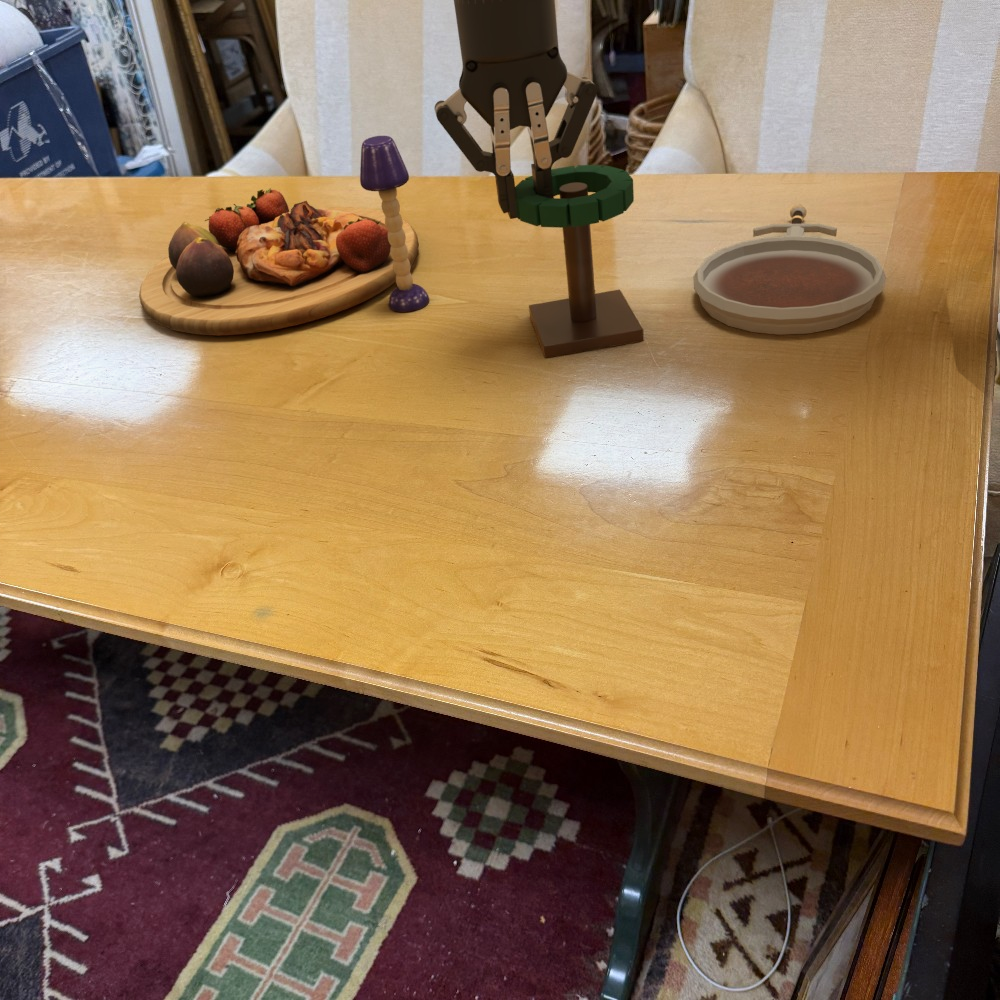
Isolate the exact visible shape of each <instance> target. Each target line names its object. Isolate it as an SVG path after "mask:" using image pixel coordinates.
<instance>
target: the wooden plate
mask: <svg viewBox="0 0 1000 1000" xmlns="http://www.w3.org/2000/svg"><path fill="white" fill-rule="evenodd" d="M250 201H251V202H250V203H246V205H244V206H243V205H237V204H235V203H233V205H234V208H233V207H232V206H226V207H225V208H223V207H216V208H215V210H214V212H213V214H212V215H210V216H208V218H207V219H205V220H204V222H207V221H208V230H207V229H206V228H204V227H201V226H199V225H196V224H195V225H194V224H191V223H189V222H186V221H183V222H182V223H181V225H180V226H179V227H178V228H177V229H176V230H175V231H174V233H173V235H172V237H171V239H170V241H169V244H168V249H167V250H168V255H167V256H166V257H164V258H163V259H162V260H160V261H159V262H158V263H156V264H155V266H153V267H152V269H150V270H149V272H148V273H147V274H146V275H145V277H144V278H143V280H142V282H141V285H140V288H139V293H138V295H139V296H138V297H139V302H140V303H139V304H140V305H141V308H142V310H143V311H144V313H145V314H146V315H147V316H148V317H149V318H150V319H151V320H152V321H154V322H155V323H157V324H159V325H161V326H162V327H164V328H168V329H170V330H173V331H177V332H180V333H186V334H191V335H199V336H200V335H202V336H234V335H235V336H237V335H245V334H255V333H262V332H269V331H275V330H279V329H285V328H289V327H294V326H298V325H303V324H306V323H310V322H314V321H317V320H320V319H322V318H326V317H330V316H333V315H335V314H338V313H340V312H343V311H345V310H348V309H349V308H352V307H353V308H354V307H355V306H357V305H360V304H362V303H364V302H366V301H368V300H370V299H372V298H373V297H375V296H377V295H379V294H380V293H382V292H384V291H385V290H387V289H388V288H389V287H391V286H393V285H394V284H396V273H395V271H394V268H393V262H394V260H393V259H392V257H391V253H390V248H391V245H390V243H389V241H388V230H387V228H386V225H385V214H384V213H383V211H382V210H379V209H375V208H364V207H356V206H355V207H352V206H351V207H350V206H335V207H319V208H316V207H314V206H312V205H310V203H308V201H307V200H304V201H301V202H297V203H294V204H293V207H291V208H289V205H288V203H287V201H286V199H285V196H284V195H283V194H282V193H281V192H280V191H278V190H276V189H272V188H271V187H270V188H269V189H267V190H264V189H260V190H257V192H256V196H255V195H252V196H251V198H250ZM402 221H403V226H402V229H403V230H404V232H405V237H406V240H405V244H406V246H407V249H408V257H407V258H408V260H409V262H410V268H411V267H412V266H413V265H414V262H415V260H416V258H417V256H418V253H419V246H420V243H419V238H418V234H417V232H416V230H415V229H414V227H413V226H412V225H411V224H410V223H409V222H407V221H406V220H404V219H403V218H402Z"/></svg>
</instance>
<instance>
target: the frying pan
mask: <svg viewBox="0 0 1000 1000" xmlns="http://www.w3.org/2000/svg"><path fill="white" fill-rule="evenodd" d="M789 216H790V218H791V219H790V222H791V223H773V224H767V225H763V226H759V227H754V228H753V231H752V238H754V239H750V240H744V241H740V242H737V243H734V244H731V245H728V246H725V247H723V248H720V249H718V250H717V251H715V252H714V253H712V254H711V255H709V256H707V257H706V258H705V259H703V261H702V263H701V264H700V265H699V267H697V269H696V271H695V273H694V275H693V277H692V279H693V282H692V283H693V290H694V291H695V292H696V293H697V294H698V296H699V300H700V303H701V304H700V305H701V306H702V308H703V309H704V310H705V312H707V314H708V315H709V317H711V318H713V319H714V320H717V321H719V322H720V323H721V324H724V325H726V326H728V327H731V328H735V329H739V330H742V331H747V332H750V333H758V334H759V333H760V334H768V335H769V334H770V335H778V336H779V335H780V336H782V335H785V336H786V335H806V334H813V333H818V332H823V331H828V330H834V329H837V328H840V327H842V326H845V325H847V324H850V323H852V322H854V321H857V320H858V319H860V318H861V317H862V316H863V315H865V314H866V313H867V312H868V311H870V310H871V308H872V306H873V304H874V301H875V300H876V297H878V296H879V294H881V293H882V292H883V289H884V288H885V284H886V281H887V276H886V273H885V270H884V268H883V267H882V265H881V262H880V260H879V258H878V257H877V256H875V255H873V254H872V253H871V252H870V251H869V250H867V249H866V248H863V247H861V246H858V245H856V244H853V243H850V242H848V241H844V240H840V239H839V240H838V239H833V238H828V237H822V236H811V235H810V236H809V235H804V233H820V234H824V235H828V236H832V237H835V238H836V237H837V231H838V227H835V226H830V225H826V224H822V223H803V221H804V219H805V217H806V216H807V208H806V206H804V205H803V204H795V205H793V206H792V207H791V208H790V211H789ZM772 233H777V234H779V233H780V234H782V233H786V234H785V235H779V236H764V235H767V234H772ZM759 236H764V237H759ZM755 237H759V238H755Z"/></svg>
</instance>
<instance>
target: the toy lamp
mask: <svg viewBox="0 0 1000 1000" xmlns="http://www.w3.org/2000/svg"><path fill="white" fill-rule="evenodd" d="M360 149H361V150H360V168H359V169H360V170H359V172H360V173H359V182H360V186H361V188H362V189H364V190H365V191H369V192H378V196H379V198H380V200H381V211H383V213H384V214H385V225H386V228H387V230H388V241H389V243H390V245H391V248H390V253H391V257H392V259H393V260H394V262H393V268H394V271H395V273H396V282H395V284H396V286H397V287H395V288H394V289H393V290H392V291H391V293H389V298H388V308H389V309H390V310H391V311H393V312H397V313H411V312H416V311H419V310H421V309H423V308H425V307H426V306H428V304H429V303H430V297H429V294H428V292H427V291H426V289H425V288H423V286H422V285H419V284H417V283H414V278H413V275H412V274H411V267H410V262H409V260H408V258H407V257H408V249H407V246H406V244H405V240H406V237H405V232H404V230H403V229H402V226H403V221H402V219H403V218H402V215H401V214H400V212H401V211H400V210H401V205H400V201H399V200H398V198H397V196H398V190H397V189H398V188H400V187H402V186H404V185H406V184H407V183H408V182H409V181H410V175H409V171H408V169H407V167H406V164H405V162H404V160H403V158H402V155H401V153H400V151H399V148H398V146H397V144H396V142H395V140H394V139H393V138H392V137H391V136H389V135H375V136H372V137H368V138H366V139H365V140H363V142H362V143H361V148H360Z"/></svg>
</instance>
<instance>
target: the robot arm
mask: <svg viewBox="0 0 1000 1000" xmlns="http://www.w3.org/2000/svg"><path fill="white" fill-rule="evenodd" d="M453 5H454V12H455V13H454V14H455V19H456V26H457V34H458V40H459V49H460V55H461V62H462V70H461V74H460V77H459V81H458V86H459V88H458V89H457V90H456V91H455V92H453V93H452V95H450V96H449V97H448V98H446V99H445V100H438V101H437V102H436V103H435V104H434V113H435V116H436V119H437V122H439V124H440V126H441V127H443V129H444V130H445V132H446V133H447V135H448V136H449V137H450V138H451V140H452V141H453V143H455V145H456V146H457V147H458V148H459V151H460V152H461V153H462V154H463V156H464V157H465V158H466V159H467V161H468V162H469V163H470V165H471V166H472V167H473V169H474V170H475V171H477V172H479V173H482V172H488V173H491V174H493V175H494V178H495V186H496V194H497V195H496V196H497V202H498V205H499V207H500V210H501V211H502V213H503V214H507V215H508V217H509V219H510V220H514V219H518V215H517V206H516V191H515V186H516V182H515V175H514V173H513V170H512V166H511V165H512V164H511V163H512V162H511V131H512V130H513V129H515V128H518V127H525V128H527V132H528V136H529V141H530V147H531V153H532V159H533V163H531V164H530V166H531V167H530V168H531V176H532V177H533V187H534V191H535V193H536V194H537V195H540V196H543V197H547V198H555V196H553V185H552V174H551V169H553V168H552V167H553V165H554V164H555V162H557V161H559V160H560V159H568V158H570V157H571V155H572V153H573V151H574V149H575V146H576V145H577V142H578V140H579V137H580V136H581V133H582V130H583V128H584V125H585V123H586V121H587V118H588V116H589V114H590V111H591V109H592V107H593V105H594V102H595V100H596V97H597V95H598V86H597V85H596V83H594V82H593V81H592V80H591V79H590V78H588V77H587V76H583V77H580V76H578V75H575V74H573V73H570V72H568V69H567V65H566V63H564V61H563V59H562V57H561V55H560V49H559V39H558V37H559V36H558V25H557V11H556V0H453ZM563 87H564V90H565V91H564V100H565V102H567V106H566V109H565V111H564V113H563V116H562V118H561V121H560V123H559V125H558V128H557V131H556V133H555V135H554V138H553V139H552V140H549V139H550V138H549V130H548V124H547V117H548V115H549V113H550V111H551V110H552V108H553V106H554V104H555V101H556V100H557V99H558V97H559V95H560V92H561V91H562V89H563ZM466 103H468V104H469V105H470V106H471V108H473V109H474V111H475V112H476V113H477V114H478V115H479V116H480V118H482V120H483V121H485V123H486V124H487V125H488V126H489V129H490V130H489V131H490V139H491V152H490V151H486V150H485V151H484V150H483V149H482V147H481V146H480V145H479V143H478V142H477V140H476V139H475V138H474V137H473V135H472V133H470V131H469V130H468V129H467V127H466V126H465V124H466V121H467V119H468V116H467V112H466V109H465V105H466Z"/></svg>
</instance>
